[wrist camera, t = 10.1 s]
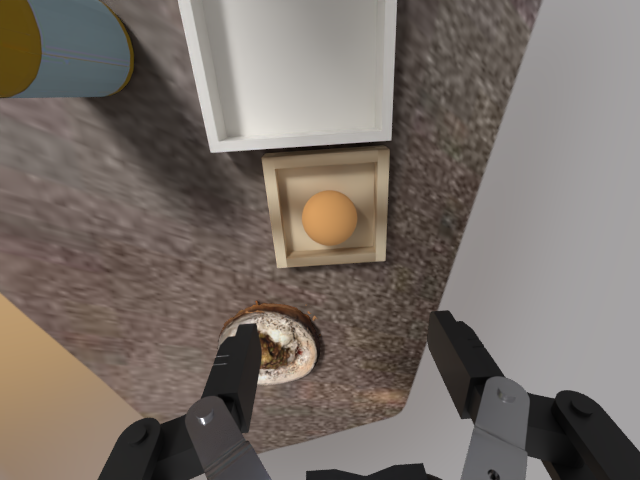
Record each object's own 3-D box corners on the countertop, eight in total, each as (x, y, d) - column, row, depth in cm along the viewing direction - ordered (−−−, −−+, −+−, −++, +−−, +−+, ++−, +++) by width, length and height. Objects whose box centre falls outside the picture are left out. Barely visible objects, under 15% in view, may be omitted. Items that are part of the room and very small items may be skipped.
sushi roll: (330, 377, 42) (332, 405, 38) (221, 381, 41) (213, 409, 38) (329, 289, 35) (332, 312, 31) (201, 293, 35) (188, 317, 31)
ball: (300, 185, 28) (298, 203, 24) (353, 181, 28) (361, 198, 24) (304, 233, 31) (303, 257, 26) (353, 230, 31) (361, 253, 26)
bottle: (140, 12, 23) (-103, -104, 9) (136, 107, 26) (-55, 123, 12) (40, -23, 22) (-393, -210, 8) (47, 80, 25) (-267, 64, 11)
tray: (265, 153, 28) (261, 157, 26) (383, 145, 28) (389, 149, 26) (279, 256, 33) (277, 268, 31) (380, 250, 33) (385, 260, 30)
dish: (179, -70, 21) (156, -99, 18) (388, -85, 21) (401, -117, 18) (222, 146, 27) (210, 152, 24) (382, 135, 27) (391, 140, 24)
